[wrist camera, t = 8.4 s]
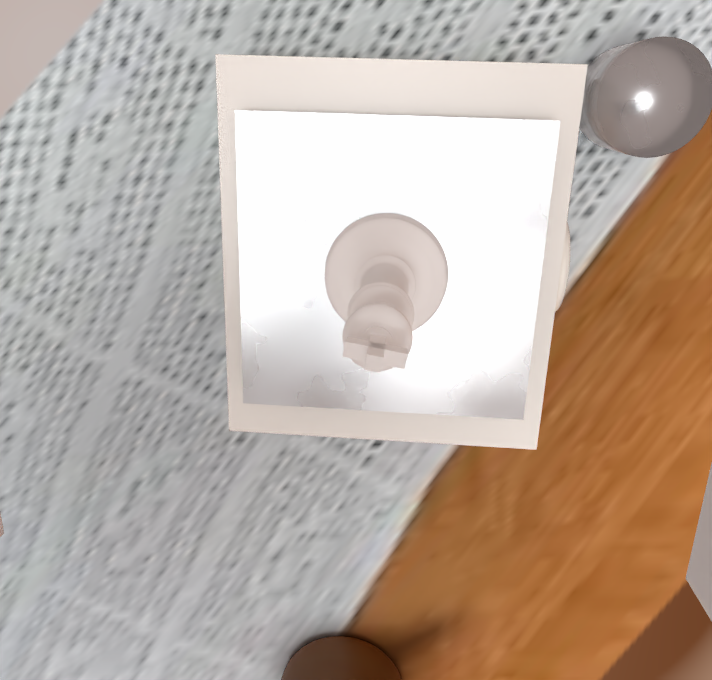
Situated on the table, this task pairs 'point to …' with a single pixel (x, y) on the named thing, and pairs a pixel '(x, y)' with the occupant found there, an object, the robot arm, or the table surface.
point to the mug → (340, 661)
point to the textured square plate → (408, 198)
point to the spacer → (647, 97)
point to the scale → (404, 98)
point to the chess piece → (384, 286)
